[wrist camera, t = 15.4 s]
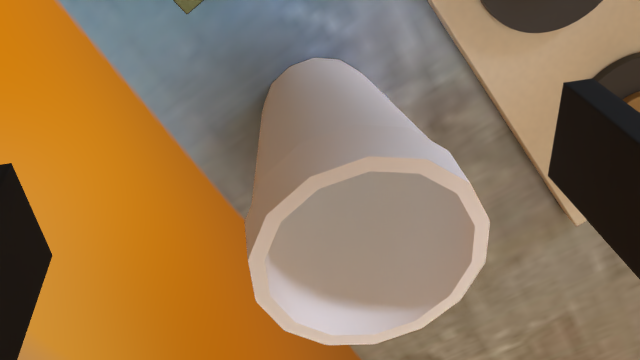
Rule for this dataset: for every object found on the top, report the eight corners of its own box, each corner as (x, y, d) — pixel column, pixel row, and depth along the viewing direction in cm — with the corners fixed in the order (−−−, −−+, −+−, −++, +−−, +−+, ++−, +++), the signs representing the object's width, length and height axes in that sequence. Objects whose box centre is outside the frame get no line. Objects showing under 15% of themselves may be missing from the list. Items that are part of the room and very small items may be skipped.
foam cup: (204, 137, 33) (202, 302, 22) (292, -5, 29) (341, 111, 19) (339, 201, 37) (393, 368, 26) (431, 83, 33) (537, 221, 23)
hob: (377, -76, 28) (391, -66, 26) (600, -262, 25) (636, -267, 23) (565, 214, 41) (585, 237, 38) (728, 110, 38) (759, 129, 36)
